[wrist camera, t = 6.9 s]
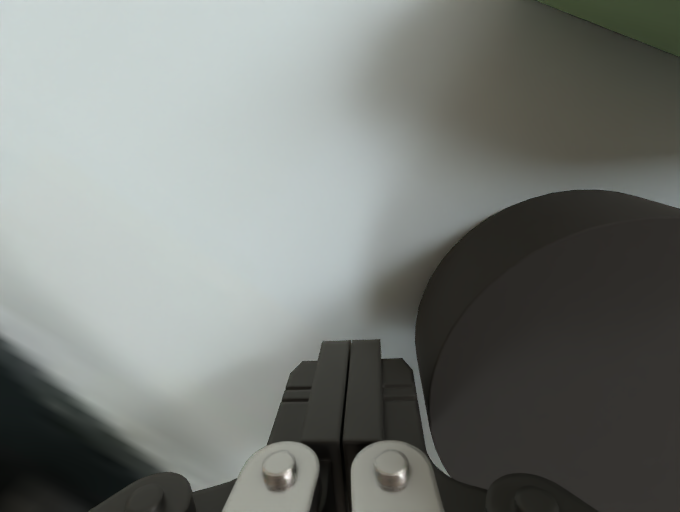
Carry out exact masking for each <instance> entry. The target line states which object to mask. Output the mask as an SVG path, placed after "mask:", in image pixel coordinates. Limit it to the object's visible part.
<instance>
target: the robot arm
mask: <svg viewBox="0 0 680 512" xmlns="http://www.w3.org/2000/svg"><path fill="white" fill-rule="evenodd" d="M88 512H599V511H597V510H596V509H594V508H593V507H592V506H590V505H589V504H587V503H586V502H584V501H583V500H581V499H580V498H578V497H577V496H575V495H574V494H572V493H571V492H569V491H568V490H566V489H565V488H563V487H562V486H560V485H558V484H557V483H555V482H553V481H551V480H549V479H546V478H544V477H541V476H538V475H533V474H528V473H512V474H507V475H504V476H502V477H500V478H498V479H496V480H495V481H494V482H493V483H492V484H491V485H490V487H489V489H488V490H487V489H483V488H479V487H476V486H472V485H469V484H465V483H462V482H459V481H457V480H455V479H453V478H451V477H449V476H447V475H446V474H444V473H443V472H442V471H440V470H439V469H438V468H437V467H436V466H435V465H434V464H433V462H432V461H431V460H430V458H429V456H428V454H427V451H426V447H425V441H424V435H423V429H422V423H421V417H420V411H419V405H418V400H417V393H416V387H415V381H414V375H413V370H412V369H411V368H410V366H409V365H408V364H407V363H406V362H405V361H404V360H403V359H402V358H394V359H381V343H380V339H371V340H352V344H351V340H344V341H323V342H322V345H321V349H320V353H319V358H318V361H302V362H301V363H300V364H299V365H298V366H297V367H296V368H295V369H294V370H293V371H292V372H291V373H290V376H289V379H288V382H287V385H286V390H285V391H284V394H283V397H282V402H281V403H280V406H279V409H278V412H277V415H276V418H275V421H274V425H273V428H272V431H271V434H270V437H269V440H268V443H267V446H265V447H263V448H262V449H260V450H258V451H257V452H255V453H254V454H253V455H252V456H251V457H250V458H249V459H248V460H247V461H246V463H245V464H244V466H243V468H242V470H241V472H240V474H239V476H238V478H236V479H234V480H232V481H230V482H227V483H224V484H221V485H217V486H213V487H210V488H206V489H203V490H199V491H195V492H192V490H191V486H190V483H189V482H188V480H187V479H186V478H185V477H183V476H182V475H180V474H177V473H172V472H163V473H156V474H152V475H149V476H146V477H143V478H141V479H139V480H137V481H135V482H133V483H132V484H130V485H128V486H127V487H125V488H124V489H122V490H121V491H119V492H117V493H116V494H114V495H113V496H111V497H110V498H108V499H107V500H105V501H103V502H102V503H100V504H99V505H97V506H96V507H94V508H93V509H91V510H89V511H88Z"/></svg>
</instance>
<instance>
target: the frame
mask: <svg viewBox="0 0 680 512" xmlns="http://www.w3.org/2000/svg"><path fill="white" fill-rule="evenodd" d="M536 1H538V2H541V3H543V4H546V5H548V6H551V7H553V8H556V9H559V10H561V11H564V12H566V13H569V14H571V15H574V16H576V17H579V18H581V19H584V20H587V21H589V22H592V23H594V24H597V25H599V26H602V27H604V28H607V29H609V30H612V31H615V32H617V33H620V34H622V35H625V36H627V37H630V38H632V39H635V40H637V41H640V42H643V43H645V44H648V45H650V46H653V47H655V48H658V49H660V50H663V51H665V52H668V53H671V54H673V55H676V56H678V57H680V0H536Z"/></svg>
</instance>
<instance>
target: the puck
mask: <svg viewBox="0 0 680 512" xmlns="http://www.w3.org/2000/svg"><path fill="white" fill-rule="evenodd" d="M415 346H416V354H417V361H418V366H419V372H420V377H421V383H422V388H423V394H424V400H425V405H426V411H427V416H428V422H429V427H430V432H431V435H432V439H433V442H434V446H435V449H436V451H437V453H438V455H439V457H440V460H441V462H442V464H443V466H444V467H445V469H446V470H447V472H448V473H449V475H450V476H451V478H453V479H455V480H457V481H459V482H462V483H465V484H469V485H472V486H476V487H479V488H483V489H487V490H488V489H489V487H490V485H491V484H492V483H493V482H494V481H495V480H496V479H498V478H500V477H502V476H504V475H507V474H512V473H528V474H533V475H538V476H541V477H544V478H546V479H549V480H551V481H553V482H555V483H557V484H558V485H560V486H562V487H563V488H565V489H566V490H568V491H569V492H571V493H572V494H574V495H575V496H577V497H578V498H580V499H581V500H583V501H584V502H586V503H587V504H589V505H590V506H592V507H593V508H594V509H596V510H597V511H599V512H680V209H679V208H675V207H671V206H668V205H664V204H661V203H657V202H654V201H650V200H647V199H643V198H640V197H636V196H632V195H628V194H624V193H620V192H612V191H603V190H571V191H564V192H557V193H551V194H547V195H543V196H539V197H535V198H532V199H528V200H526V201H523V202H521V203H518V204H516V205H513V206H511V207H508V208H506V209H505V210H503V211H501V212H499V213H497V214H495V215H493V216H492V217H490V218H488V219H487V220H485V221H484V222H482V223H481V224H480V225H478V226H477V227H475V228H474V229H473V230H471V231H470V232H469V233H468V234H467V235H466V236H465V237H463V238H462V239H461V240H460V241H459V242H458V243H457V244H456V245H455V246H454V247H453V248H452V249H451V250H450V252H449V253H448V254H447V255H446V256H445V257H444V259H443V260H442V261H441V263H440V264H439V266H438V267H437V269H436V270H435V272H434V273H433V275H432V277H431V279H430V281H429V283H428V285H427V287H426V289H425V291H424V294H423V297H422V300H421V303H420V306H419V309H418V314H417V320H416V326H415Z"/></svg>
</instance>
